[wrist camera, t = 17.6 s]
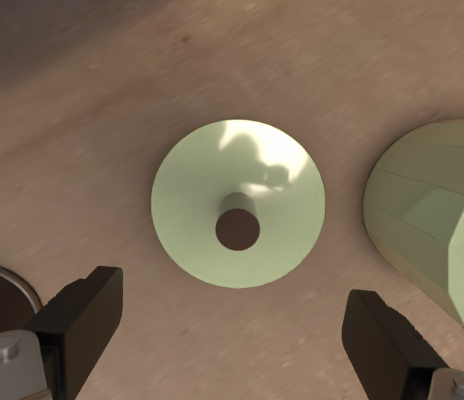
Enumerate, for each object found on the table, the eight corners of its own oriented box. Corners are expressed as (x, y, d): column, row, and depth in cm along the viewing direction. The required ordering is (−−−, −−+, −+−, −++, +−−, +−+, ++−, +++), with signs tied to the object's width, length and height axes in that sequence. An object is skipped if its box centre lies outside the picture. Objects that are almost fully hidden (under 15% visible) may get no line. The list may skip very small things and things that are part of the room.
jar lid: (123, 222, 26) (88, 252, 20) (217, 82, 23) (210, 66, 17) (254, 309, 27) (259, 361, 21) (356, 187, 25) (394, 207, 19)
